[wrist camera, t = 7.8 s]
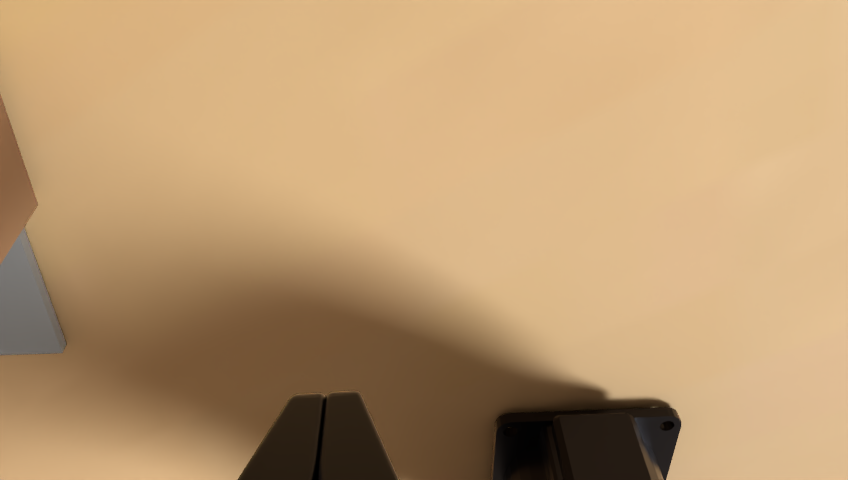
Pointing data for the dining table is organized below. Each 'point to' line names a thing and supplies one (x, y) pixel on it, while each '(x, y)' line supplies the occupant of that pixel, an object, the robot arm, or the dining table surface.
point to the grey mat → (26, 305)
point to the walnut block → (12, 187)
